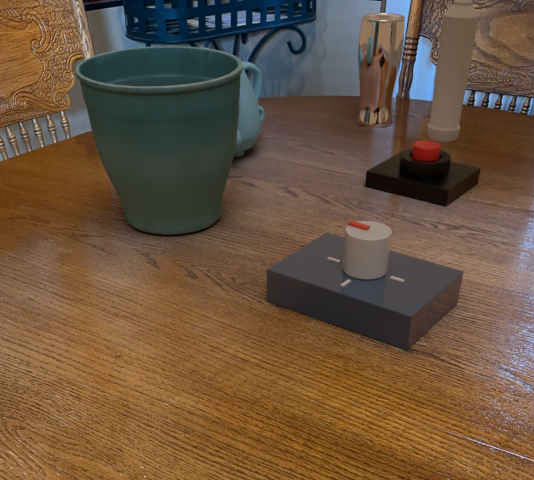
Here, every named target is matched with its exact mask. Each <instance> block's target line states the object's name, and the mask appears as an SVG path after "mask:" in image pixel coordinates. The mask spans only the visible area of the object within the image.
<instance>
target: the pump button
mask: <svg viewBox="0 0 534 480" xmlns="http://www.w3.org/2000/svg"><path fill="white" fill-rule="evenodd" d="M412 148H413V151H412V158H414V159H417V160H422V161H434V160H438V159H439V157H440V150H442V144H441V142H438V141H433V140H430V139H428V140H427V139H426V140H417V141H415V142H413V144H412Z"/></svg>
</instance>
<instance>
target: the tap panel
mask: <svg viewBox="0 0 534 480" xmlns="http://www.w3.org/2000/svg"><path fill="white" fill-rule="evenodd" d="M344 242H345V236H342V235H338V234H334V233H331V232H326V231H325V232H324V233H323V234H321V235H320V236H318V237H316V238H315V239H313V240H312V241H310V242H309V243H306V244H305V245H304V246H302V247H300V248H298V249H297V250H296V251H294V252H292V253H290V254H289V255H287V256H286V257H284V258H282V259H280V260H279V261H278V262H276V263H274V264H273V265H271V266H269V267H268V268H266V302H268V303H271V304H274V305H276V306H280V307H283V308H285V309H288V310H292V311H294V312H297V313H299V314H302V315H305V316H308V317H311V318H313V319H317V320H320V321H322V322H324V323H328V324H331V325H333V326H336V327H339V328H342V329H345V330H348V331H350V332H353V333H356V334H359V335H362V336H365V337H367V338H369V339H370V338H371V339H373V340H376V341H379V342H381V343H384V344H387V345H390V346H393V347H395V348H399V349H402V350H404V351H408V350H409V349H410V348H411V347H412V346H413V345H414V344H415V343H417V342H418V340H420V339H421V338H422V337H423V336H424V335H425V334H426V333H427V332H428V331H429V330H430V329H432V328H433V327H434V326H435V325H436V324H437V323H438V322H439V321H440V320H441V319H442V318H444V316H446V314H448V313H449V312H450V311H451V310H452V309H454V307H455V306H456V305H458V303H459V297H460V292H461V289H462V288H461V287H462V282H463V277H464V271H463V270H460V269H457V268H454V267H450V266H446V265H443V264H439V263H436V262H433V261H429V260H425V259H423V258H419V257H415V256H412V255H408V254H405V253H401V252H399V251H398V252H397V251H394V250H391V249H390V254H389V262H388V271H387V273H386V274H385V275H384V276H383V277H380V278H377V279H370V280H364V279H357V278H353V277H351V276H348V275H347V274H346V273H345V272H344V271H343V256H344Z"/></svg>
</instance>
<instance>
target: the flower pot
mask: <svg viewBox="0 0 534 480" xmlns="http://www.w3.org/2000/svg"><path fill="white" fill-rule="evenodd" d="M206 48H207V47H197V46H180V45H159V46H157V45H156V46H140V47H131V48H130V47H129V48H124V49H117V50H112V51H107V52H103V53H99V54H96V55H91V56H89V57H88V58H85V59H84V60H82V61H80V62H79V63H77V65H76V67H75V74H76V78H77V79H78V81H79V85H80V89H81V94H82V97H83V101H84V104H85V108H86V111H87V116H88V121H89V125H90V129H91V132H92V136H93V140H94V144H95V147H96V150H97V154H98V157H99V159H100V161H101V164H102V166H103V168H104V170H105V172H106V174H107V176H108V179H109V180H110V182H111V184H112V187H113V189H114V190H115V193H116V194H117V196H118V199H119V201H120V203H121V206H122V208H123V209H122V210H123V212H124V213H123V216H124V219H125V221H126V222H127V223H128V225H130V226H131V227H133V228H134V229H136V230H139V231H141V232H144V233H148V234H154V235H166V236H167V235H171V236H172V235H174V236H175V235H184V234H192V233H195V232H199V231H201V230H204V229H207V228H208V227H211V226H212V225H214V224H215V223H216V222H218V221H219V219H220V218H221V216H222V213H223V211H222V210H223V209H222V202H223V197H224V195H225V194H224V193H225V189H226V186H227V182H228V179H229V175H230V172H231V169H232V166H233V161H234V158H235V157H234V153H235V147H236V140H237V128H238V107H239V96H240V77H241V73H242V70H243V64H242V62H243V61H242V60H241V58H239V57H237V55H234V54H231V53H229V52H226V51H224V50H219V49H213V48H210V49H206Z"/></svg>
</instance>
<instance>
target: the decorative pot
mask: <svg viewBox="0 0 534 480" xmlns="http://www.w3.org/2000/svg"><path fill="white" fill-rule="evenodd" d="M205 48H206V49H211V48H209V47H205ZM242 64H243V70H242V73H241V77H240V96H239V107H238V128H237V140H236V147H235V153H234V157H233V158H237V157H243V156H244V155H245V151H247V150H249V149H251V148H252V147H254V145H255V143H256V142H257V140H258V138H259V137H260V134H261V130H262V122H263V121H264V120H265V116H266V112H265V109H264V107H263V106H261V105H260V104H259V99H260V96H261V91H262V88H263V74H262V72H261V70H260V68H259V67H258V66H257V65H256V64H254V63H253V62H250V61H242ZM247 70H249V71H251V72H252V75H253V83H252V84H251V81H250V80H249V77H248V74H247V73H246V71H247Z"/></svg>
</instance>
